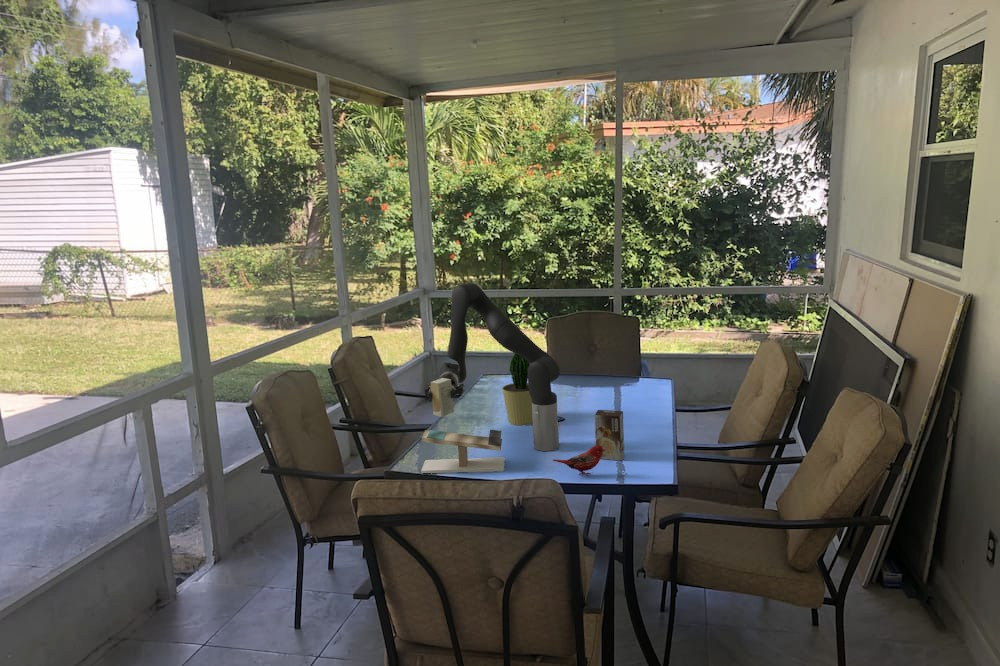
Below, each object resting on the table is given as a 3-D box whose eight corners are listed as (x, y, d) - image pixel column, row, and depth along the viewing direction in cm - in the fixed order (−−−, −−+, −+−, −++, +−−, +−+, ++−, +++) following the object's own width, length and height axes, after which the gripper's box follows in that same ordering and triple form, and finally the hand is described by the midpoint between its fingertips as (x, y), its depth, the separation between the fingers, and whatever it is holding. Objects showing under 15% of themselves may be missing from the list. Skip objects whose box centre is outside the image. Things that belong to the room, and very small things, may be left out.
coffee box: (625, 454, 236) (624, 410, 233) (621, 461, 230) (620, 416, 227) (599, 452, 239) (598, 409, 236) (595, 459, 233) (594, 414, 230)
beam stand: (504, 460, 236) (503, 437, 234) (503, 471, 226) (502, 447, 225) (425, 463, 237) (424, 440, 236) (421, 474, 227) (419, 450, 226)
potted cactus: (496, 423, 279) (492, 352, 273) (520, 413, 290) (517, 345, 284) (524, 429, 268) (520, 356, 263) (548, 420, 279) (545, 349, 274)
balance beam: (501, 442, 234) (503, 430, 233) (500, 450, 226) (502, 438, 225) (424, 434, 234) (426, 421, 233) (421, 441, 226) (422, 429, 226)
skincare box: (445, 410, 239) (443, 377, 237) (454, 412, 236) (451, 378, 234) (432, 415, 234) (429, 381, 232) (441, 417, 231) (438, 383, 229)
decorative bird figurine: (607, 475, 218) (606, 445, 217) (553, 479, 217) (552, 450, 215) (605, 471, 221) (604, 442, 219) (552, 476, 220) (550, 447, 218)
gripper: (427, 374, 247) (419, 386, 231) (466, 372, 247) (461, 384, 230) (428, 393, 249) (421, 407, 233) (467, 392, 248) (462, 405, 232)
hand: (441, 395), depth 231 cm, fingers closed on skincare box, 7 cm apart
